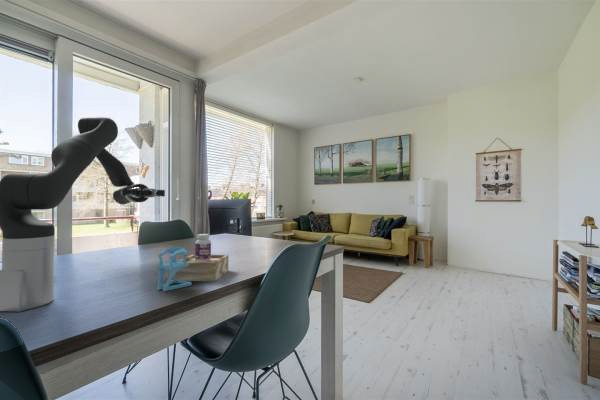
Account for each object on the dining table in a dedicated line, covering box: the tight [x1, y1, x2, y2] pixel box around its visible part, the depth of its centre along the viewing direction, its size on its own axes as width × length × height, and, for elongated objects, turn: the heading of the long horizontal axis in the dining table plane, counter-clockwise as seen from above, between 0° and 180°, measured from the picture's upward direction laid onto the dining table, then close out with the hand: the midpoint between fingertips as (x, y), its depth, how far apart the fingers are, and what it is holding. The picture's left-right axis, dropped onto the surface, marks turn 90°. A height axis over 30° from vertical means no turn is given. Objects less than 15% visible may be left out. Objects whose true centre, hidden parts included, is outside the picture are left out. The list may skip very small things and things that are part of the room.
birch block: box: [173, 253, 229, 282], centre depth 94 cm, size 14×14×6 cm
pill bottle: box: [194, 233, 212, 262], centre depth 94 cm, size 5×5×10 cm
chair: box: [155, 246, 193, 292], centre depth 81 cm, size 8×8×12 cm
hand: (149, 192), depth 97 cm, fingers open, 8 cm apart
